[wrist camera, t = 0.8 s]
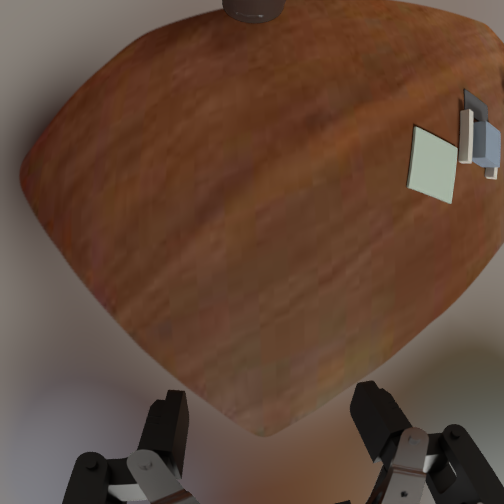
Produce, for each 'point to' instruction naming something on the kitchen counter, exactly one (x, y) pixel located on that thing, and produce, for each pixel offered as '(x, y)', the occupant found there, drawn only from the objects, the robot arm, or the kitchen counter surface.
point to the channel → (480, 113)
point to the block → (486, 145)
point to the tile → (432, 166)
